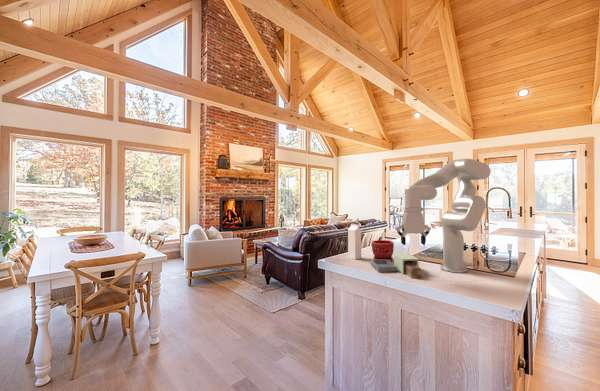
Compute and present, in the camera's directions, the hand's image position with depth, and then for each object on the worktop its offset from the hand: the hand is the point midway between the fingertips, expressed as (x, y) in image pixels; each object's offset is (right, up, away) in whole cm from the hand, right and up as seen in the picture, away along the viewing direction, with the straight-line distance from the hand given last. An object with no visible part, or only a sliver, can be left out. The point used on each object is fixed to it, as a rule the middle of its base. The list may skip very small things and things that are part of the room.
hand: (413, 244), depth 131 cm
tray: (-10, -16, +16) cm, 25 cm away
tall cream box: (+1, -16, +11) cm, 20 cm away
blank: (+1, -17, +3) cm, 17 cm away
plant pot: (-5, -16, +32) cm, 36 cm away
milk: (-21, -16, +39) cm, 47 cm away
